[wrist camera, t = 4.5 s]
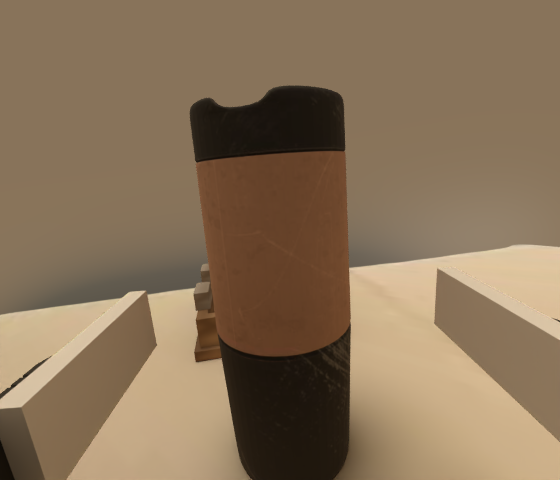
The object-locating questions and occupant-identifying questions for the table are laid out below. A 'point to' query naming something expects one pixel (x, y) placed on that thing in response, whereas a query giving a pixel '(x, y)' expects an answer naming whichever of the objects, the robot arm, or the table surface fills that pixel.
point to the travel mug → (280, 274)
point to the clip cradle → (206, 319)
